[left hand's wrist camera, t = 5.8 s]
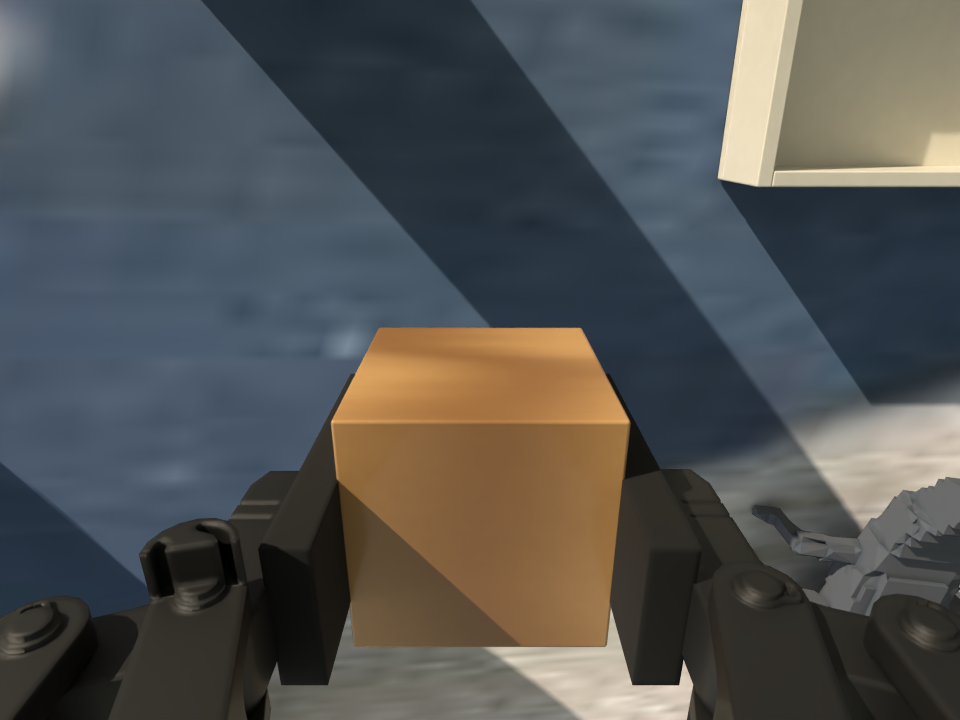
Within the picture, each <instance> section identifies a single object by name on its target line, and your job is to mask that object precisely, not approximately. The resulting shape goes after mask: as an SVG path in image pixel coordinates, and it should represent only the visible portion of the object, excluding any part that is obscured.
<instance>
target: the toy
mask: <svg viewBox="0 0 960 720" xmlns="http://www.w3.org/2000/svg"><path fill="white" fill-rule="evenodd" d="M752 514H753V515H755V516H756V517H758V518H760V519H762V520H763V521H765V522H767V523H769V524H772V525H774V526H775V528H776V529H777V530H778V531H779V533H780V534H781V535H782V536H783V538H784V539H785V540H786V542H787V543H788V544H789V545H790V548H791V549H792V551H793V552H794V554H795V555H805V556H816V557H817V558H818V559H819V561H830V562H833V564H832V566H831V568H830V570H829V572H828V573H827V575H826V577H825V580H826V583H825V585H824V586H823V588H822V589H821V591H820V592H819V593H817V592H816V591H814V590H809V589H803V588H802V589H803V591H804V592H805V594H806V596H807V597H808V599H809V601H811V602H814V603H817V604H820V605H824V606H827V607H831V608H835V609H840V610H844V611H848V612H853V613H857V614H861V615H866V616H869V615H870V612H871V609H872V606H873V603H874V602H875V601H877V600H878V599H879V598H880V597H881V596H884V595H891V594H897V593H898V594H905V595H912V596H918V597H921V598H924V599H927V600H930V601H932V602H935V603H938V604H940V605H942V606H944V607H946V608H948V609H950V610H951V611H953V612H955V613H957V614H959V615H960V599H959V598H958V597H957V596H956V595H955V593H957V592H958V591H959V590H960V588H959V585H960V479H957V478H950V477H946V478H945V480H944V479H938V481H937V483H936V485H935V487H933V486H929V487H928V488H921V489H920V490H918V491H916V492H913V491H906V490H903V491H902V492H901V493H900V494H899V495H898V497H894V498H893V500H892V501H891V502H890V504H889V505H888V507H887V508H886V509H885V511H884V512H883V513H882V515H881V516H880V517H878V518H877V519H874V518H871V520H870V521H869V522H868V524H867V525H866V527H865V528H864V529H863V531H862V532H861V534H860V535H859V537H858V538H857V539H856V538H843V537H832V536H828V535H825V534H820V533H815V532H809V531H803V530H801V529H799V528H798V527H797V526H796V525H794V524H793V523H792V522H791V521H790V520H789V519H788V518H787V517H786V516H785V514H784V513H783V512H782V511H781V509H780V508H773V507H764V506H756V505H755V507H754V509H753V512H752ZM760 562H761V561H760ZM761 563H762V562H761ZM762 564H763V563H762ZM763 565H764V564H763Z"/></svg>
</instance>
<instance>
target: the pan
mask: <svg viewBox="0 0 960 720" xmlns="http://www.w3.org/2000/svg"><path fill="white" fill-rule="evenodd" d="M718 179H720V180H725V181H730V182H735V183H740V184H745V185H750V186H755V187H960V0H743V6H742V13H741V20H740V27H739V34H738V41H737V48H736V55H735V62H734V69H733V76H732V83H731V90H730V97H729V104H728V111H727V118H726V125H725V132H724V139H723V146H722V153H721V160H720V167H719V174H718Z"/></svg>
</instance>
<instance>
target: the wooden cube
mask: <svg viewBox="0 0 960 720" xmlns="http://www.w3.org/2000/svg"><path fill="white" fill-rule="evenodd" d="M630 425H631V423H630V420H629V418H628V416H627V414H626V412H625V410H624V409H623V407H622V405H621V403H620V401H619V399H618V397H617V395H616V393H615V391H614V389H613V388H612V386H611V384H610V382H609V380H608V378H607V376H606V374H605V372H604V370H603V368H602V366H601V365H600V363H599V361H598V359H597V357H596V355H595V353H594V351H593V349H592V347H591V345H590V344H589V342H588V340H587V338H586V336H585V334H584V332H583V330H582V329H581V328H379V329H378V331H377V333H376V335H375V337H374V339H373V341H372V343H371V345H370V347H369V349H368V351H367V353H366V355H365V356H364V358H363V360H362V362H361V364H360V366H359V368H358V370H357V372H356V374H355V376H354V378H353V380H352V382H351V384H350V386H349V388H348V390H347V392H346V394H345V396H344V397H343V399H342V401H341V403H340V405H339V407H338V409H337V411H336V413H335V415H334V417H333V419H332V421H331V429H332V439H333V448H334V458H335V468H336V478H337V480H338V484H339V494H340V504H341V513H342V523H343V533H344V542H345V552H346V562H347V571H348V581H349V591H350V600H351V603H350V613H351V623H352V633H353V643H354V646H356V647H605V646H606V645H607V639H608V630H609V620H610V611H611V605H610V594H611V585H612V575H613V565H614V556H615V546H616V537H617V527H618V517H619V508H620V498H621V489H622V480H624V479H625V471H626V462H627V453H628V443H629V434H630Z"/></svg>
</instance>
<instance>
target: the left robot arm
mask: <svg viewBox="0 0 960 720" xmlns="http://www.w3.org/2000/svg"><path fill="white" fill-rule="evenodd" d="M354 376H355V374H351V375H350V377H349V378H348V380H347V382H346V384H345V386H344V388H343V390H342V392H341V393H340V395H339V397H338V399H337V401H336V403H335V405H334V407H333V409H332V410H331V412H330V414H329V416H328V418H327V420H326V422H325V424H324V425H323V427H322V429H321V431H320V433H319V435H318V437H317V439H316V441H315V442H314V444H313V446H312V448H311V450H310V452H309V454H308V456H307V457H306V459H305V461H304V463H303V465H302V467H301V469H300V471H270V472H268V473H267V474H266V475H264V476H263V477H262V478H260V479H259V480H258V481H256V482H255V483H254V484H252V485H251V486H250V488H249V489H248V491H247V492H246V494H245V495H244V497H243V499H242V500H241V502H240V505H238V506H237V508H236V509H235V511H234V512H233V514H232V516H231V519H229V520H228V521H225V520H221V519H217V518H206V519H196V520H191V521H187V522H183V523H180V524H177V525H175V526H173V527H171V528H169V529H166V530H164V531H162V532H161V533H159V534H158V535H157V536H155V537H154V538H153V539H151V540H150V541H149V542H147V544H146V545H145V547H144V548H143V549H142V551H141V552H140V553H139V557H140V561H141V564H142V568H143V572H144V576H145V580H146V583H147V587H148V591H149V595H150V598H151V602H150V604H148V605H145V606H141V607H138V608H135V609H131V610H126V611H122V612H118V613H113V614H109V615H105V616H100V617H96V618H92V617H91V614H90V610H89V607H88V605H87V604H86V603H84V602H83V601H82V600H81V599H80V598H75V597H69V596H58V597H51V598H44V599H41V600H38V601H36V602H33V603H30V604H27V605H24V606H22V607H20V608H18V609H16V610H14V611H12V612H11V613H9V614H7V615H5V616H3V617H2V618H0V720H270V712H271V707H270V701H269V695H268V690H267V686H268V684H269V681H270V678H271V676H272V673H273V670H274V668H275V665H276V663H278V669H279V675H280V680H281V685H328V683H329V679H330V676H331V672H332V668H333V665H334V661H335V657H336V654H337V650H338V646H339V643H340V639H341V635H342V632H343V628H344V625H345V621H346V617H347V614H348V610H349V606H350V603H351V600H350V591H349V581H348V571H347V562H346V552H345V542H344V533H343V523H342V513H341V504H340V494H339V484H338V480H337V478H336V468H335V458H334V448H333V439H332V429H331V421H332V419H333V417H334V415H335V413H336V411H337V409H338V407H339V405H340V403H341V401H342V399H343V397H344V396H345V394H346V392H347V390H348V388H349V386H350V384H351V382H352V380H353V378H354ZM606 376H607V378H608V380H609V382H610V384H611V386H612V388H613V389H614V391H615V393H616V395H617V397H618V399H619V401H620V403H621V405H622V407H623V409H624V410H625V412H626V414H627V416H628V418H629V420H630V423H631V425H630V434H629V443H628V453H627V462H626V471H625V479H624V480H622V489H621V498H620V508H619V517H618V527H617V537H616V546H615V556H614V565H613V575H612V585H611V594H610V605H611V609H612V612H613V616H614V619H615V623H616V627H617V630H618V634H619V638H620V641H621V645H622V649H623V652H624V656H625V660H626V663H627V667H628V671H629V674H630V678H631V681H632V685H679V683H680V677H681V671H682V665H683V660H684V661H685V664H686V667H687V669H688V672H689V674H690V677H691V680H692V682H693V690H692V695H691V700H690V706H689V711H688V717H687V720H960V615H959V614H957V613H955V612H953V611H951V610H950V609H948V608H946V607H944V606H942V605H940V604H938V603H935V602H932V601H930V600H927V599H924V598H921V597H918V596H912V595H905V594H898V593H897V594H891V595H884V596H881V597H880V598H879V599H878V600H877V601H875V602H874V603H873V606H872V609H871V612H870V615H869V616H866V615H861V614H857V613H853V612H848V611H844V610H840V609H835V608H831V607H827V606H824V605H820V604H817V603H814V602H811V601H809V599H808V597H807V596H806V594H805V592H804V591H803V589H802V588H801V586H799V585H798V584H797V583H796V582H795V581H793V580H792V579H791V578H790V577H789V576H788V575H786V574H784V573H782V572H780V571H778V570H776V569H774V568H772V567H770V566H766V565H763V564H762V563H761V562H760V560H759V559H758V557H757V555H756V554H755V552H754V551H753V549H752V548H751V546H750V545H749V543H748V542H747V540H746V539H745V537H744V536H743V534H742V532H741V531H740V529H739V528H738V526H737V525H736V523H735V522H734V520H733V519H732V517H730V516H729V512H728V511H727V509H726V508H725V506H724V505H723V503H721V502H720V499H719V497H718V496H717V494H716V492H715V491H714V489H713V488H712V486H711V485H710V483H708V482H707V481H705V480H704V479H703V478H701V477H700V476H699V475H697V474H696V473H695V472H693V471H692V470H691V469H660V468H659V466H658V464H657V462H656V460H655V459H654V457H653V455H652V453H651V451H650V449H649V447H648V445H647V444H646V442H645V440H644V438H643V436H642V434H641V432H640V430H639V429H638V427H637V425H636V423H635V421H634V419H633V417H632V415H631V413H630V412H629V410H628V408H627V406H626V404H625V402H624V400H623V398H622V397H621V395H620V393H619V391H618V389H617V387H616V385H615V383H614V381H613V380H612V378H611V376H610V374H606Z"/></svg>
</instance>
